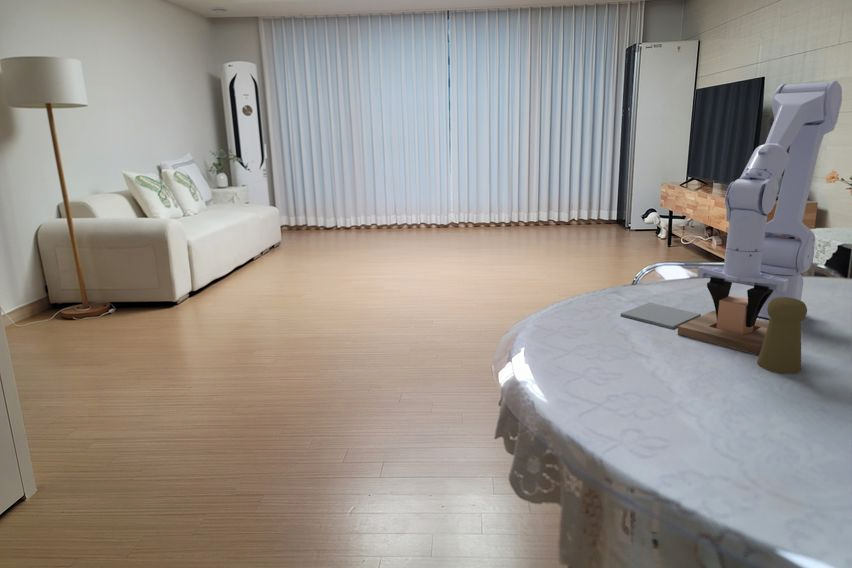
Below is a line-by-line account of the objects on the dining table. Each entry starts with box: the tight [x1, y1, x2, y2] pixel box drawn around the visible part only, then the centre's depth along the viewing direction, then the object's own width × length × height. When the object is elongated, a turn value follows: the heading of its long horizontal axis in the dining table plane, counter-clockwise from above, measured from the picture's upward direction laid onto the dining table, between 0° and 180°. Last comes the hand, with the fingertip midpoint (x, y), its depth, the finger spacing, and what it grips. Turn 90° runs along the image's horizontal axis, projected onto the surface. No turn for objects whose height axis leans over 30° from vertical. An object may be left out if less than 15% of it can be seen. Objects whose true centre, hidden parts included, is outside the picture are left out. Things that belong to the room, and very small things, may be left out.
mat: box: [620, 302, 702, 330], centre depth 118 cm, size 11×11×1 cm
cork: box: [756, 297, 808, 375], centre depth 92 cm, size 6×6×11 cm
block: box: [716, 295, 753, 335], centre depth 107 cm, size 4×4×6 cm
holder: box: [677, 310, 769, 356], centre depth 107 cm, size 14×14×2 cm
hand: (735, 322), depth 107 cm, fingers closed on block, 4 cm apart
